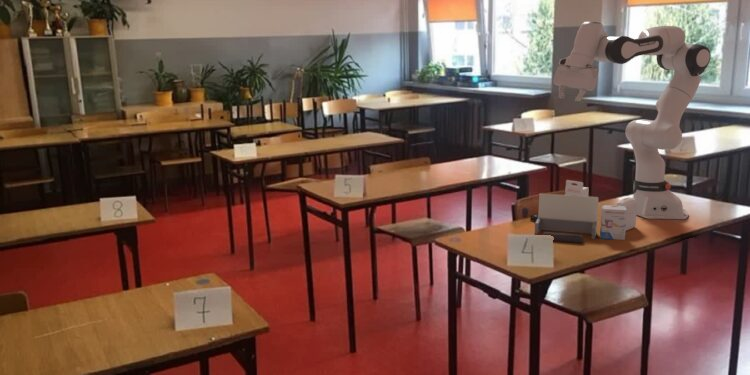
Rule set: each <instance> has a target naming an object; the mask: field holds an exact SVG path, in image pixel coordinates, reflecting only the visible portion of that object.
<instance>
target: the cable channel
mask: <svg viewBox="0 0 750 375" xmlns="http://www.w3.org/2000/svg"><path fill="white" fill-rule="evenodd" d="M597 226H598V221H597V222H590V221H576V220H562V219H549V218H538V219H537V221H536V222H534V235H539V234H540V232H541V230H542V231H549V232H550V231H553V232H564V233H565V232H566V233H575V234H576V233H578V234H587V235H591V240H596V236H597V230H598V229H597ZM538 233H539V234H538Z"/></svg>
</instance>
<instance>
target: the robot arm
mask: <svg viewBox="0 0 750 375" xmlns="http://www.w3.org/2000/svg"><path fill="white" fill-rule="evenodd" d="M639 56H656V63H657V65H658V66H659V67H660V68H661V69H663V70H666V71H673V77H672V79H671V80H670V81H669V83H668V84H667V85H666V87H665V88H664V89H663V91H662V92H661V94H660V96H659V98H658V99H657V101H656V103H655V108H656V111H657V115H656V117H655V119H654V120H652V119H646V118H645V119H644V118H642V119H641V118H639V119H634V120H632V121H630V122H628V123H627V125H626V128H625V132H624V133H625V138H626V139H627V141H628V142H629V143H630V145H631V148H632V150H633V153H634V157H635V158H634V159H635V178H634V180H633V189H632V190H633V197H632V198H634V199H635V200H636V202H637V211H636V216H639V217H642V218H644V219H648V220H649V219H652V220H654V219H655V220H656V219H658V220H661V219H662V220H686V219H688V218H689V213H688V211H687V210H685V209H684V206H683V202H682V200H681V198H680V197H679V196H678V195H676V194H675V193H674V192H672V191H671V190H670V189H671V184H670V182H669V181H667V180H665V175H666V174H665V173H666V162H665V160H664V158H663V157H662V156H661V154H660V152H659V150H665V151H667V150H673V149H674V150H675V149H676V148H678V146H680V144H681V142H682V139H683V132H682V129H681V127H680V125H681V124H680V123H681V119H682V116H683V114H684V112H685V111H686V109H687V108H688V106H689V104H690V103H691V102H692V100H693V98H694V97H695V95H696V93H697V91H698V88H699V86H700V83H701V76H700V75H702V74H703V73H704V72H705V70H706V69H707V67H708V66H709V64H710V62H711V58H712V57H711V50H710V49H709V47H708V46H706V45H704V44H703V45H702V44H700V43H696V44H694V43H687V42H686V32H685V31H684V30H683V29H682V28H681V27H679V26H675V25H659V26H653V27H650V28H646V29H644V30H642V31H641V32H640V33H639V35H638V38H633V37H630V36H627V35H622V36H618V35H617V36H613V35H612V36H611V35H609V34H608V33H607V32H606V31H605V29H604V26H603V23H601V22H597V21H583V23H581V24H580V27H579V28H578V30H577V32H576V36H575V39H574V42H573V49H572V50H571V51H570V54H569V56H567V57H564V58H561V59H559V61H558V65H559V66H558V67H557V68H556V70H555V74H554V77H553V79H552V80H553V85H556V86H558V98H560V99H565V96H566V93H565V91H566V88H569V89H575V90H576V89H577V90H578V91H579V92H578V93H577V95H575V96H574V97H575V98H574V101H575V102H581V101H582V98H583V97H584V95H585V94H587V91H590V92H593V91H594V90H595V89H596V87H597V83H598V82H597V81H598V77H599V68H598V66H597V65H593V63H594V61H596V62H602V63H612V64H617V65H618V64H619V65H624V64H627V63H629V62H630V61H631V60H633V59H634V58H636V57H639Z"/></svg>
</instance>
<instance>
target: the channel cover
mask: <svg viewBox="0 0 750 375" xmlns="http://www.w3.org/2000/svg"><path fill="white" fill-rule="evenodd" d="M538 195H539V197H538V212H537V213H538V214H537V215H538V218H549V219H562V220H576V221H590V222H597V223H598V214H599V213H598V212H599V196H589V195H588V196H571V195H565V194H555V193H554V194H552V193H539V194H538Z"/></svg>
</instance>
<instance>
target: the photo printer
mask: <svg viewBox="0 0 750 375" xmlns="http://www.w3.org/2000/svg"><path fill="white" fill-rule="evenodd" d="M615 206H625V207H626V209H627V217H626V231H629V230H632V229H634V228H635V227H636V226H637V225H636V224H637V215H636V211H637V202H636V200H635V199H634V198H633V197H624V198H622V199H621V200H619V201H618V202H617V203H616V205H615ZM626 231H625V232H626Z"/></svg>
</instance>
